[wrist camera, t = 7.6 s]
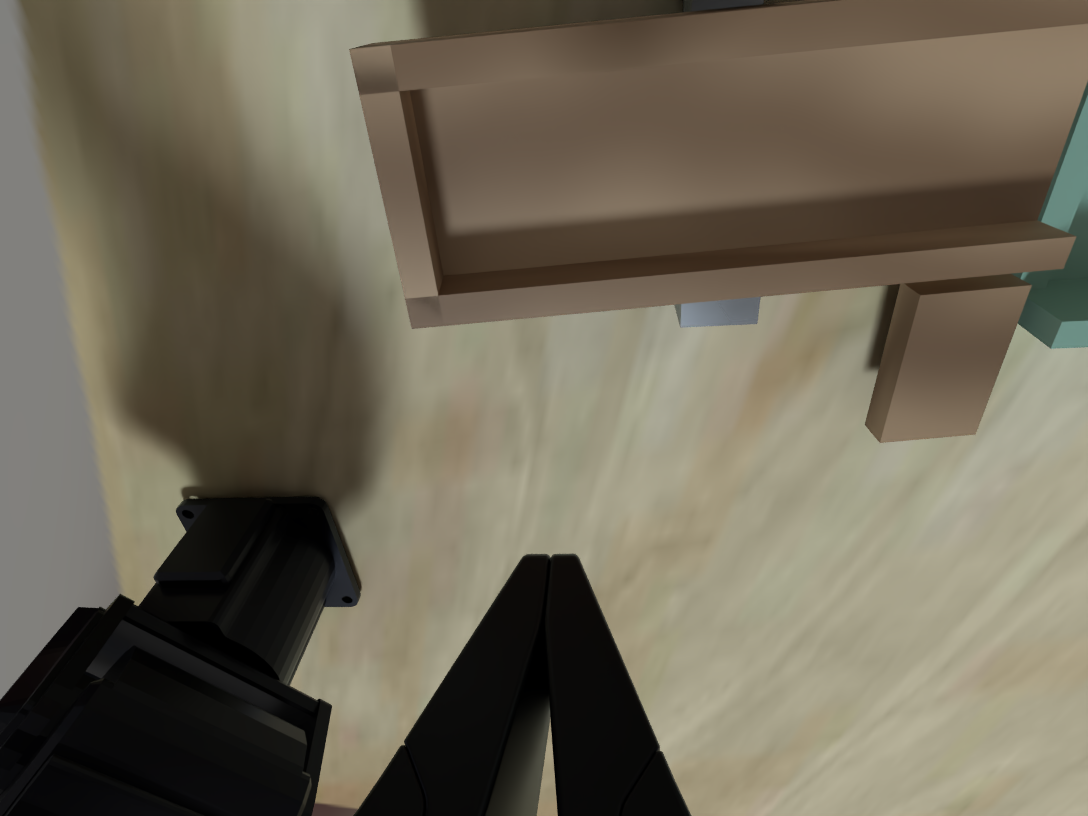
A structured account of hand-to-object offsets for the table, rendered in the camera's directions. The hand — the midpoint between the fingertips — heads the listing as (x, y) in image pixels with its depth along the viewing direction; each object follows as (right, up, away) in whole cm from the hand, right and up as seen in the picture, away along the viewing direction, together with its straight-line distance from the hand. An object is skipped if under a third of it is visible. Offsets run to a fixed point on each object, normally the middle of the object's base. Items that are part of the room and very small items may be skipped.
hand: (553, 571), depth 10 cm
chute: (+5, +6, +7) cm, 11 cm away
